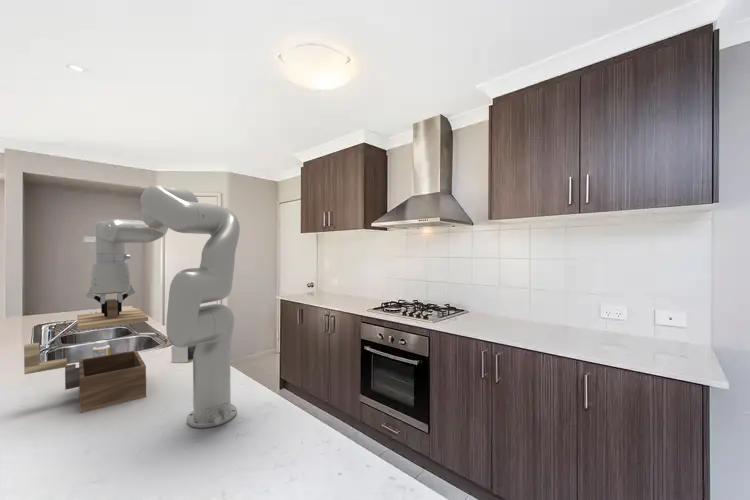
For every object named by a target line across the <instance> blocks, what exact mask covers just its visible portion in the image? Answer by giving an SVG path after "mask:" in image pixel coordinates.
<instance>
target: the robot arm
mask: <svg viewBox="0 0 750 500" xmlns="http://www.w3.org/2000/svg"><path fill="white" fill-rule="evenodd" d="M140 205H141V210H140V216H141V219H142V220H140V219H139V220H137V219H136V220H135V219H123V218H113V219H109V220H100V221H97V222H96V223H95V262H94V263H92V267H91V272H90V273H91V274H90V276H91V277H90V288H89V289H88V291H87V293H86V295H85V297H86V298H89V299H92V300H95V301H97V302H98V303H99V304H100V305H101V310H100V311H101V313H102V314H103V313H104V316H107V303H106V295H109V294H111V295H112V294H116V297H117V298H116V301H117V302H118V315H119V312H122V310H123V307H122V306H123V305H122V303H123V302H124V300H125V299H127V298H128V297H129V296H131V295H133V294H135V292H136V291H135V289H134V287H133V286H132V285H131V275H130V269H129V264H128V262H126V260H130V259H131V255H130V254H126V251H125V250H126V248H125V247H126V244H149V243H152V242H154V241H157V240H159V239H161V238H163V237H165V235H166V234H167V232H168V230H169V229H170V230H172V231H174V232H177V233H179V234H181V233H182V234H195V235H199V234H201V235H210V237H209V238H208V239H207V240H206V242H205V243H204V246H203V248H202V251H201V258H200V265H199V267H195V268H192V267H191V268H186V269H181V270H180V271H179V272H177V273H176V274H175V275H174V277H173V278H172V280H171V283H170V285H169V290H168V303H167V313H166V324H165V325H166V326H165V328H166V331H165V332H166V335H167V339H168V341H169V343H170V344H171V346H172V345H174V346H175V347H179V348H184V347H189V346H193V345H196V344H197V346H196V348H195V351H194V356H193V360H192V380H193V381H192V387H193V388H192V392H193V393H192V397H193V398H192V401H193V402H192V403H193V404H192V405H193V410H192V411H191V412H189V414H188V415H187V417H186V424H187V425H188V426H190V427H193V428H197V429H204V428H205V429H207V428H213V427H217V426H220V425H223V424H225V423H227V422H229V421H231V420H233V418H234V417H235V416H236V414H237V407H236V406H235V405H234V404H233V403H231V400H232V399H231V397H232V396H231V395H232V394H231V391H232V389H231V388H232V387H231V386H232V385H231V353H232V351H231V350H232V349H231V348H232V345H231V344H232V336H233V331H234V327H235V316H234V313H233V311H232V310H231V308H230V307H228V306H227V305H224V304H221V303H214V304H213V302H217V301H221V300H224V299H227V297H229V295H231V292H232V288H233V283H234V282H233V281H234V270H235V261H236V250H237V248H238V243H239V238H240V230H241V229H240V228H241V227H240V222H239V220H238V217H237V216H236V214H235V213H234V212H233V211H232V210H230V209H228V207H224V206H222V205H217V204H212V203H205V202H199V199H198V198H197V196H196V194H194V193H193V192H191V191H190V190H188V189H185V188H181V187H173V186H169V185H163V184H153V185H152V184H151V185H150V186H147V187H146V188H145V189H144V190H143V192H142V193H141V195H140ZM207 303H212V304H208V305H203V304H207ZM201 305H202V306H201Z"/></svg>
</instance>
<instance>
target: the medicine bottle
mask: <svg viewBox="0 0 750 500" xmlns="http://www.w3.org/2000/svg"><path fill="white" fill-rule="evenodd" d="M196 346H197V344H196V345H193V346H189V347H184V348H179V347H175V346H174V345H172V344H171V363H173V364H174V363H175V364H176V363H177V364H179V363H180V364H181V363H182V364H185V363H187V364H188V363H191V362H193V356H194V351H195V348H196Z"/></svg>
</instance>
